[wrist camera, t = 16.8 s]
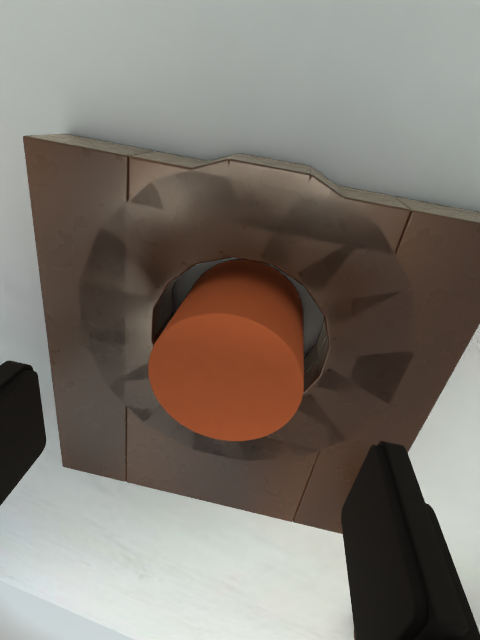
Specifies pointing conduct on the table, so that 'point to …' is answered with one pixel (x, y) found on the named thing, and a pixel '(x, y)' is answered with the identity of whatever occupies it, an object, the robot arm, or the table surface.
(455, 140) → the table surface
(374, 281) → the back board
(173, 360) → the orange cylinder
